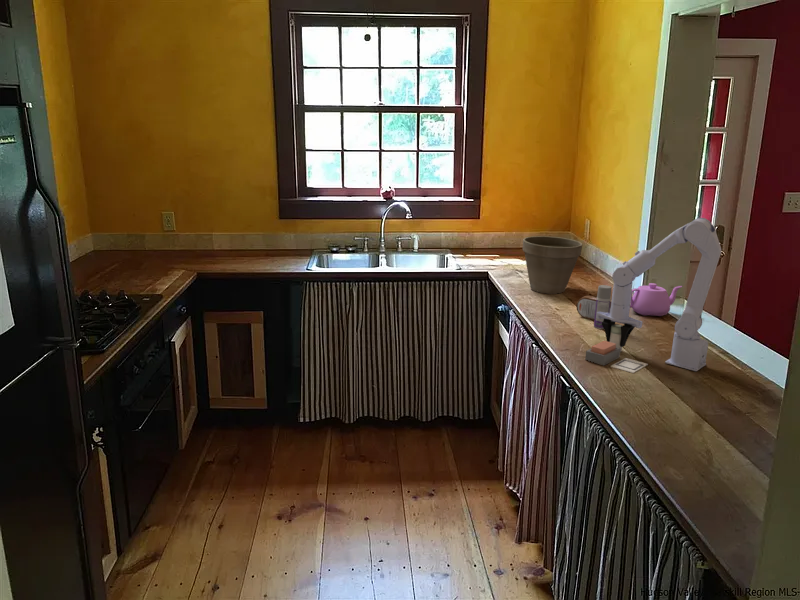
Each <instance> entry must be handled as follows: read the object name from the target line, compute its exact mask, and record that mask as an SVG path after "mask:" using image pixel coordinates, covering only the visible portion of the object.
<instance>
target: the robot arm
mask: <svg viewBox="0 0 800 600" xmlns="http://www.w3.org/2000/svg"><path fill="white" fill-rule="evenodd" d="M687 242H689V243H690V244H692V245H693V246H695V248H696V249H697V250H698V251H699V253H700V254H701V257H700V260H699V263H698V266H697V269H696V273H695V276H694V279H693V282H692V285H691V288H690V291H689V294H688V297H687V300H686V303H685V306H684V309H683V311H682V312H681V316H680V318H679V319H678V320H677V321H676V322H675V324H674V332H673V333H674V334H673V338H672V339H673V340H672V347H671V352H670V353H671V354H670V358H668V359H666V360H665V362H664V363H665V364H667V365H672V366H675V367H679V368H683V369H686V370H690V371H693V372H698V371H699V370H700V369H702V368H703V367H706V366H707V363H706V361H707V356H708V355H707V354H708V349H709V342H708V341H707V340H705V339H702V338H701V334H700V333H699V330H700V328H701V327H702V325H703V318H702V315H703V314H702V313H703V311H704V307H705V303H706V299H707V297H708V293H709V291H710V288H711V285H712V281H713V279H714V275H715V273H716V270H717V266H718V264H719V260H720V258H721V254H722V247H721V244H720V240H719V237H718V235H717V229H716V227H715V226H714V225H713V224H712V223H711V221H710V220H708V219H707V218H705V217H697V218H695V219H693V220H692V221H691V222H688V223H686V224H684V225H683V226H681V227H678V228H677V229H675V230H674V231H673V232H671V233H670V234H669V235H667V236H666V237H664V238H663V239H662V240H661V241H659V243H657V244H656V245H655V246H653V247H652V248H651V249H647V250H646V249H643V250H637V251H636V252H635V253H634V256H633V257H631V258H630V259H629V260H625V261H623V263H622V265H621V266H619V267H617V268H616V269H615V270H614V271H613V273H612V281H613V287H612V291H611V300H610V301H611V310H610V313H606V312H600V311H599V312H597V314H596V318H598V319H604V320H603V322H602V326H603V328H604V329H603V330H604V334H605V338H606V341H608V342H610V334H611V326H612V325H616V323H618V324H620V325H622V326H621V342H620V346H621V347H622V348H623V347H625V346H626V343H627V341H628V339H629V337H630V335H631V333H632V332H633V331H634V329H635V328H636V329H642V327H643V321H642V320H640V319H637V318H633V317H630V310H631V309H630V305H631V295H632V296H633V293H632V289H633V282H634V281H635V279H636V278H638V277H640V276H641V275H643V274H644V273H645V272H647V271H648V270H650V269H651V268H652V267H654V266H655V265H656V260H657V258H659V257H660V256H661V255H663V254H664V253H666V252H667V251H668V250H670V249H672V248H673V247H675V246H676V245H678V244H686V243H687Z"/></svg>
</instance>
